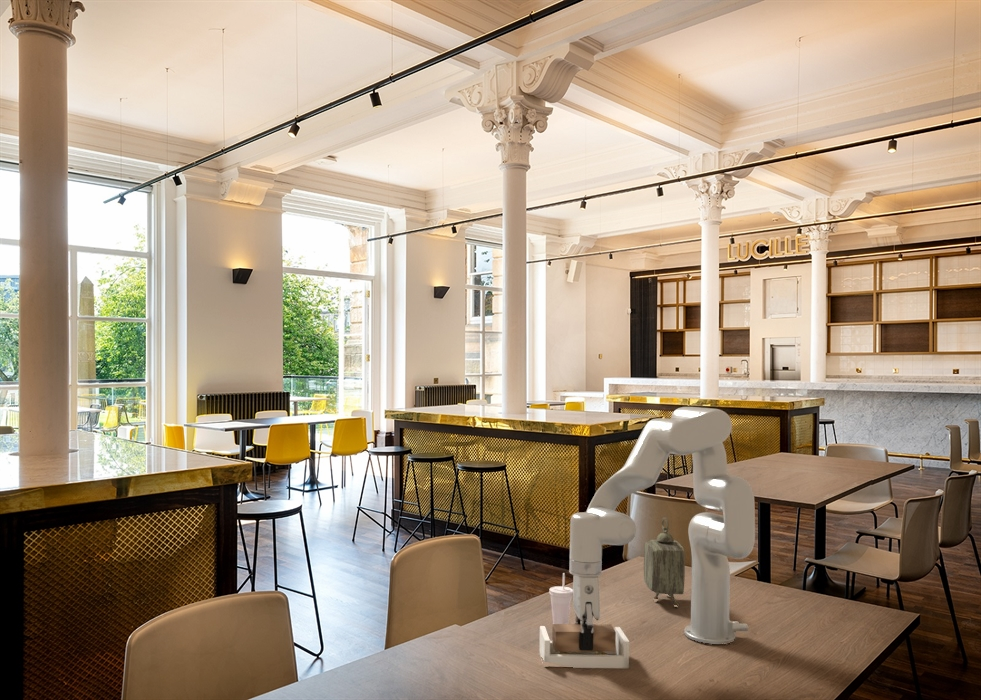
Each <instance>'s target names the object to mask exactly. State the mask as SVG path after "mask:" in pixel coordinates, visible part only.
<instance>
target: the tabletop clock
mask: <svg viewBox="0 0 981 700" xmlns="http://www.w3.org/2000/svg"><path fill="white" fill-rule="evenodd" d="M664 523H666V526H664ZM669 525H670V524H669V520H668V518H667V517H665V516H664V517H663V518H662V519H661V527H662V528H661V529H662V532H660V533H659V534H658V535H657V536H656V539H650V540H648V541H645V542H644V548H643V580H644V583H645V585H646V587H647V588H648V589H649V591H652V592H654V593H655V596H653V598H654V599H658V598H659V595H661V594H663V595H665V594H668V595H669V597H670V598H671V600H672V602H673V604H674V605H677V606H678V605H679V606H680V604H679V603H678V602H677V601H676V600H675V596H674V595H683V594H684V591H685V576H686V573H685V572H686V570H685V569H686V561H685V560H686V559H685V557H686V556H685V549H684V547H683V546H682V545H681V543H680V542H679V541H677V540H674V538H673V535H672V534H670V533H668V532H669V530H670V529H669Z"/></svg>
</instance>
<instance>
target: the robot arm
mask: <svg viewBox="0 0 981 700" xmlns="http://www.w3.org/2000/svg"><path fill="white" fill-rule="evenodd" d="M732 429H733V423H732V419H731V417H730V416H729V414H728V413H727V412H726V411H723V410H722V409H718V408H710V407H699V406H682V407H678V408H676V409H675V410H674V411H673V412H672V413H671V417H670V418H665V417H664V418H663V417H662V418H661V417H660V418H653V419H651V420H649V421H648V422H647V423H646V424H645V425H644V427H643V429H642V430H641V433H640V435H639V436H638V439H637V440H636V442H635V445H634V446H633V448H632V450H631V452H630V454H629V455H628V458H626V459H627V460H626V462H625V463H624V464H623V466H622V468H620V469H619V470H618V471H617V472H615V473H614V474H613V475H611V476H610V477H609V478H608V479H607V480H606V481H605V482H604V483H602V484H601V486H600V487H599V488H598V489H597V490H596V491H595V493H594V496H593V497H592V499H591V501H590V503H589V504H588V507H587V509H586V511H584V512H576V513H574V514H572V515H571V517H570V522H569V523H570V525H569V528H570V530H569V570H568V571H569V574H570V575H572V576H573V578H572V579H573V580H572V589H573V595H572V607H573V611H574V612H575V623H574V624H581V632H579V649H580V650H593V624H594V620H596V621H599V620H600V619H601V615H600V614H601V613H600V612H601V610H600V609H601V608H600V606H601V605H600V604H601V603H600V581H599V577H600V576H601V575H602V569H603V568H602V565H603V564H602V563H603V561H602V559H603V545H611V546H624V545H627V544H629V543H631V542H632V541H633V540H634V539H635V537H636V534H637V525H636V522H635V521H634V520H633V518H632V517H631V516H629V515H627V514H626V513H623V512H620V511H617V510H616V509H617V507H618V506H619V504H620V503H621V502H622V501H623V500H625V499H626V498H627V497H628V496H630V495H633V494H634V493H638V492H640V491H643V490H645V489H648V488H650V487H652V486H653V485H655V484H656V482H657V480H658V478H659V476H660V474H661V472H662V470H663V468H664V466H665V464H666V462H667V460H668V459H669V456H670V455H671V454H672V455H677V456H688V455H691V456H692V473H693V474H692V475H693V476H692V477H693V478H692V480H693V485H692V486H693V497H694V499H695V502H696V503H697V504H698V505H699V506H700V507H703V508H707V509H709V510H710V509H711V510H714V511H718V512H721V513H722V514H718V513H713V512H705V511H704V512H700V513H696V514H695V515H694V516H693V517H692V518H691V520H690V521H689V523H688V529H687V531H688V532H687V533H688V539H689V546H690V553H691V581H690V582H691V585H690V586H691V589H690V590H691V591H690V592H691V595H690V601H691V602H690V624H688V625H686V626H685V627H684V630H683V631H684V635H685V636H686V637H687V639H690V640H693V641H694V640H695V642H697V641H698V643H701V642H703V643H702V644H705V643H711V644H710V645H712V644H722V643H723V644H724V643H729V642H731V641H733V640H734V639H735V640H736V634H735V633H736V632H748V631H749V626H748V624H747V623H739V621H736V620H735V621H733V620H731V619H730V595H731V594H730V591H731V589H730V584H731V583H730V582H731V581H730V580H731V568H730V562H729V560H728V558H732V559H735V560H736V559H737V560H741V559H745V558H747V557H748V556H750V554H752V551H753V549H754V545H755V542H756V517H755V516H756V515H755V514H756V509H755V503H756V502H755V495H754V491H753V489H752V486H751V484H750V482H748V481H747V480H746V479H745V478H743V477H740V476H738V475H734V474H729V473H728V462H727V452H726V449H725V446H724V442H725V441H726V440H727V439H728V437H730V435H731V432H732Z"/></svg>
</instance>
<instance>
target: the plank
mask: <svg viewBox="0 0 981 700" xmlns="http://www.w3.org/2000/svg"><path fill="white" fill-rule="evenodd" d="M579 632H581V624H575V623H568V624H553V623H552V636H551V637H552V640H551V641H552V644H553V647H554V649H555V651H562V652H615V650H616V632H615V627H613V626H612V624H610V623H609V624H599V623H598V624H597V623H596V624H594V623H593V650H580V649H579Z"/></svg>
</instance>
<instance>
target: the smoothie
mask: <svg viewBox="0 0 981 700" xmlns="http://www.w3.org/2000/svg"><path fill="white" fill-rule="evenodd" d="M565 580H566V574H565V572H563V573H562V585H560V586H559V585H558V586H552V587H550V588H549V590H548V591H549V595H550V603H551V614H552V615H551V616H552V625H553V624H569V618H570V612H571V606H572V605H571V604H572V600H573V588H571V587H568V586H565V582H566V581H565Z"/></svg>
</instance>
